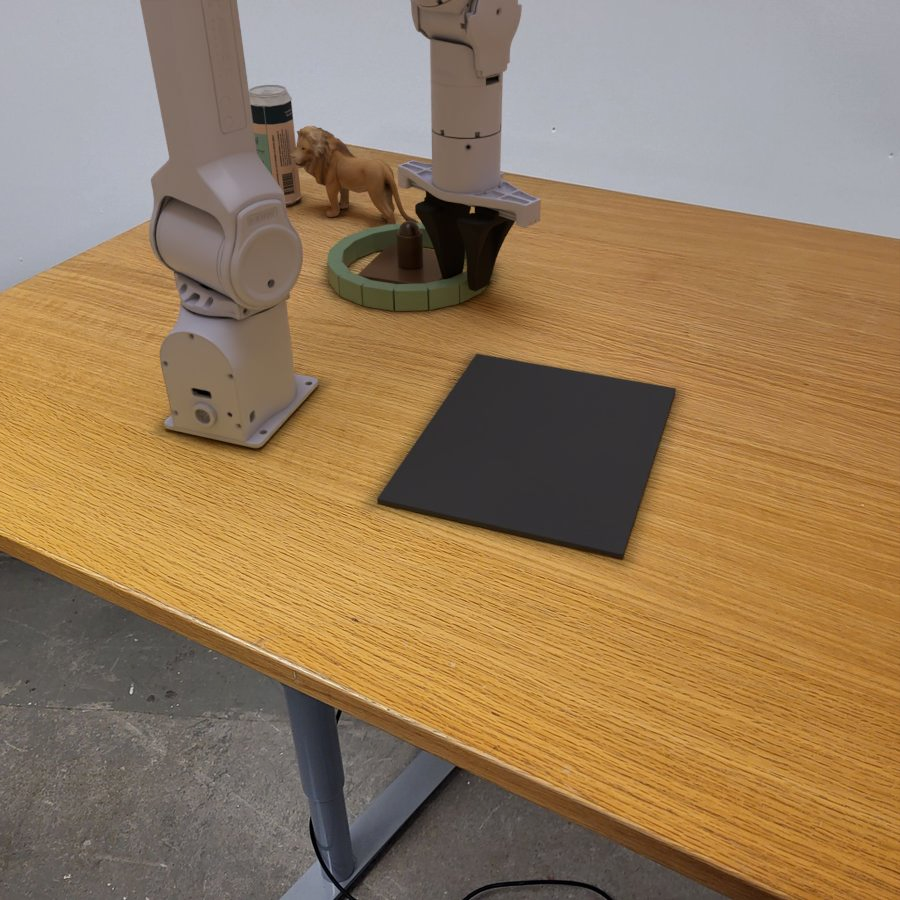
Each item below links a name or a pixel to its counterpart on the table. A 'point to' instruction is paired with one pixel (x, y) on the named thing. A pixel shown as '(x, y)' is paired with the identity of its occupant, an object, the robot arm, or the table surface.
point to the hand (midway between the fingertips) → (465, 281)
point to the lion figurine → (346, 173)
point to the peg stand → (405, 260)
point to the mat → (537, 454)
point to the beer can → (276, 136)
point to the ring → (388, 293)
